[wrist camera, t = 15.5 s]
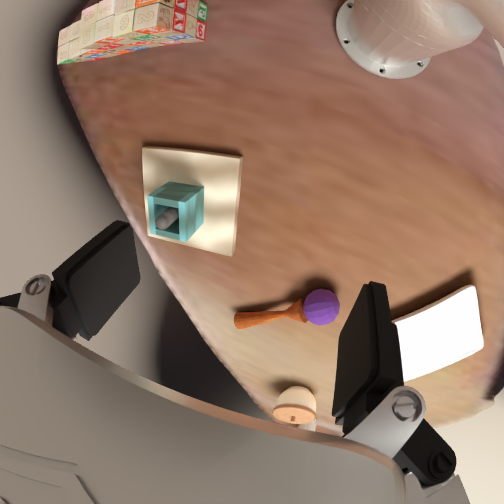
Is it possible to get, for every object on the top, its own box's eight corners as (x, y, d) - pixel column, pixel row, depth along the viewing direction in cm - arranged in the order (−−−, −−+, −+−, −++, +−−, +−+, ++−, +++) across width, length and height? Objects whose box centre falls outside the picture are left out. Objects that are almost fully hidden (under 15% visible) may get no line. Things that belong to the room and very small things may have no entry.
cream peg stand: (147, 145, 39) (108, 162, 31) (243, 156, 36) (217, 175, 28) (152, 231, 48) (121, 259, 40) (234, 251, 45) (213, 287, 37)
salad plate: (400, 372, 52) (401, 384, 49) (367, 320, 46) (368, 334, 43) (480, 337, 41) (484, 349, 38) (468, 271, 35) (474, 283, 32)
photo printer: (306, 415, 71) (298, 449, 61) (319, 417, 71) (312, 452, 61) (296, 425, 77) (289, 456, 67) (308, 427, 77) (302, 458, 67)
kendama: (225, 317, 49) (329, 298, 38) (239, 300, 54) (335, 278, 43) (239, 342, 50) (340, 329, 40) (252, 324, 55) (345, 308, 45)
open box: (169, 181, 39) (147, 195, 35) (204, 186, 39) (185, 202, 34) (170, 215, 43) (150, 233, 38) (203, 223, 42) (186, 242, 37)
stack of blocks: (96, 61, 32) (41, 66, 22) (98, 31, 28) (44, 30, 18) (205, 41, 28) (155, 26, 18) (209, 4, 25) (161, -22, 15)
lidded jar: (321, 384, 60) (316, 416, 52) (316, 402, 65) (311, 431, 58) (279, 378, 62) (271, 410, 55) (278, 397, 68) (271, 425, 61)
